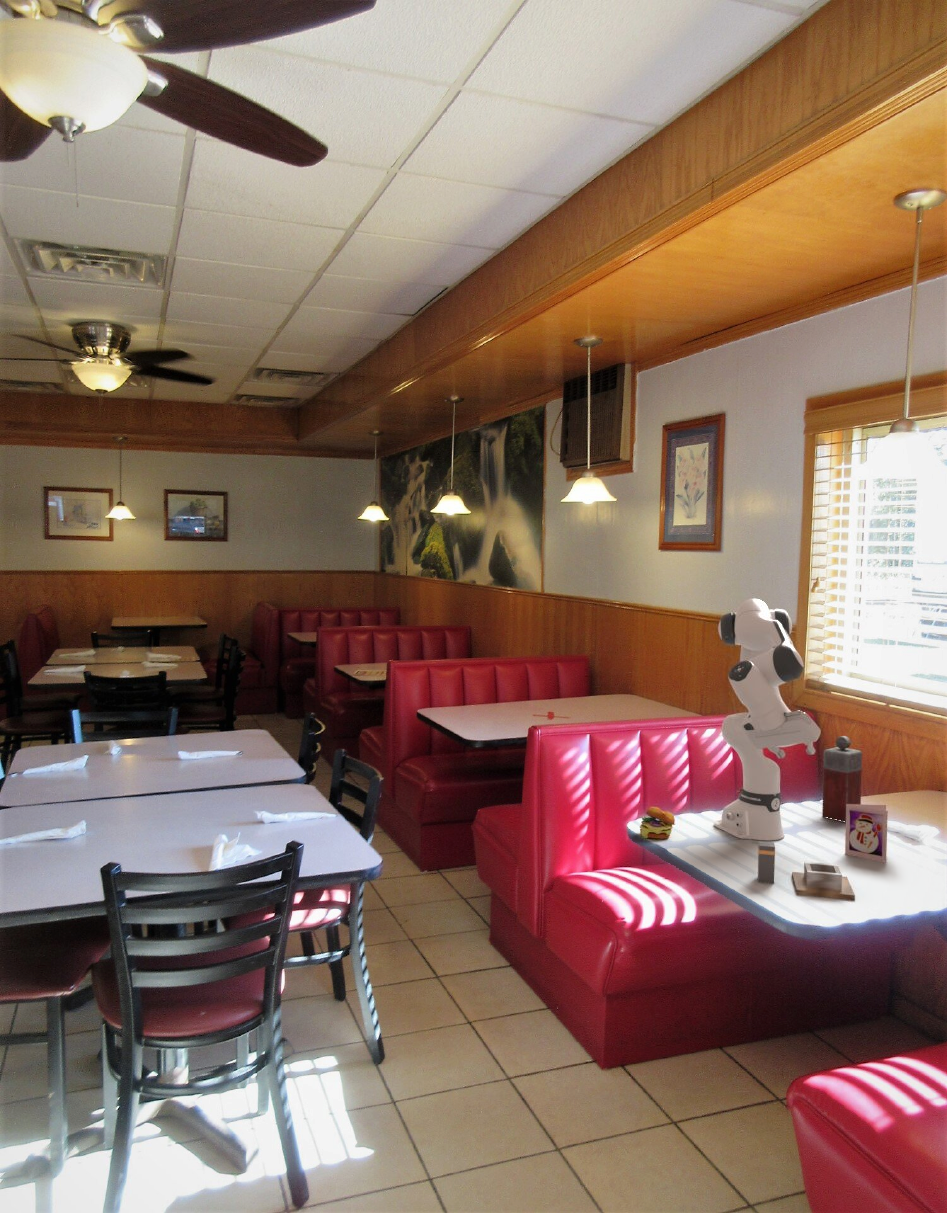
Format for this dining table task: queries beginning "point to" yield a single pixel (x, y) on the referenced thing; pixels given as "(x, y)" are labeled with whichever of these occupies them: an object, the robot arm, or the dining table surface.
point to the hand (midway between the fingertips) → (797, 754)
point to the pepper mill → (841, 779)
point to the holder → (822, 881)
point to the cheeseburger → (657, 824)
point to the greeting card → (866, 831)
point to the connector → (766, 862)
